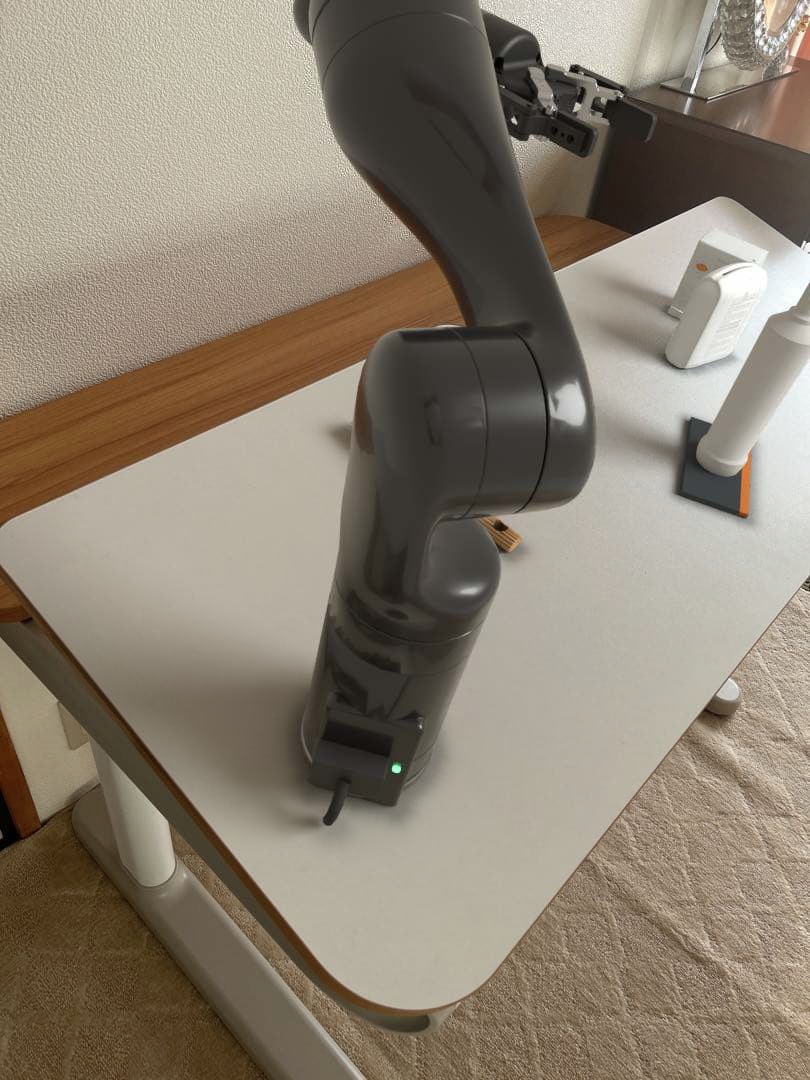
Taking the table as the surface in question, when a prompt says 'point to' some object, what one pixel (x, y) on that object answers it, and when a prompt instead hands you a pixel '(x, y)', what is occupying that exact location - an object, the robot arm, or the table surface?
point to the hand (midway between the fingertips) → (623, 137)
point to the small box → (713, 262)
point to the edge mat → (713, 478)
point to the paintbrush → (492, 524)
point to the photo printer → (716, 315)
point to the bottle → (758, 389)
